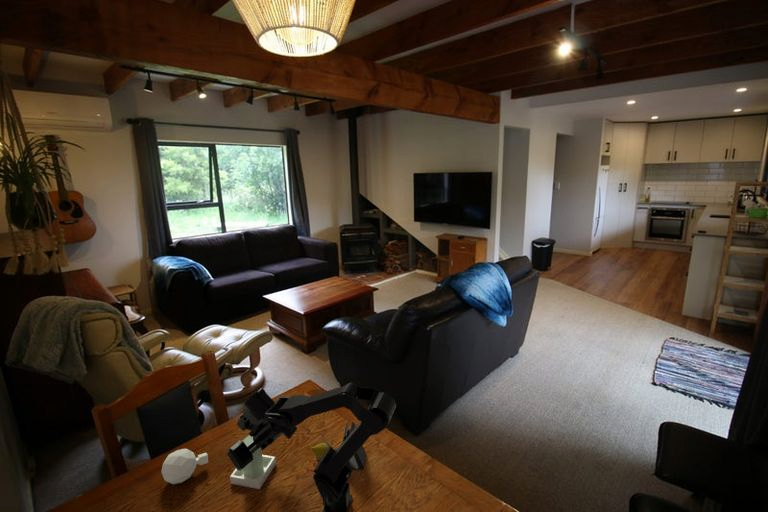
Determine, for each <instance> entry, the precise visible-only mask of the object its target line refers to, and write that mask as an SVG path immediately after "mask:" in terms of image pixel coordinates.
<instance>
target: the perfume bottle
mask: <svg viewBox="0 0 768 512" xmlns="http://www.w3.org/2000/svg"><path fill="white" fill-rule="evenodd" d="M208 463H209V454H208V453H207V452H204V453H200V454H198V455H197V457H196V455H195V452H193V451H192V450H190V449H188V448H181V449H177V450H175V451H173V452H171V453H169V454H168V455H167V456H166V458H165V460H164V462H163V463H162V466H161V467H162V468H161V475H162V477H163V480H164V481H165V482H166V483H167V482H168V483H169V484H171V485H176V484H181V483H183V482H185V481H186V480H188V479H190V478H192V475H193V474H194V472H195V470H196V468H197V465H199V466H202V465H206V464H208Z"/></svg>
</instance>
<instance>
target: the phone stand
mask: <svg viewBox="0 0 768 512" xmlns="http://www.w3.org/2000/svg"><path fill="white" fill-rule="evenodd" d="M349 426H350V428H349ZM356 426H357V425H356V423H355V422H353V421H352V422H351V425H350V421H348V422H347V423H346V424H345V428H344V434H343V438H342V442H341V444H342V443H343V442H344V441H345V439H346V438H347V437H348V436H349V435H350V433H351V432H352V431H353V430H354V429H355V428H356ZM341 444H340V445H341ZM363 445H364V444H363ZM363 445H362V446H361V448H360V449H359V450H358V451H357V452H356V453H355V454H354V456H353V457H352V458H351V459H350V460H349V461H348V462H347V464H346V465H347V466H348V467H349V468H350V469H351V470H352V471H353V470H355V471H358V470H359V471H360V470H362V471H364V470H365V467H366V461H367V460H366V458H367V451H366V449H365V447H364V446H363Z"/></svg>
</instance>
